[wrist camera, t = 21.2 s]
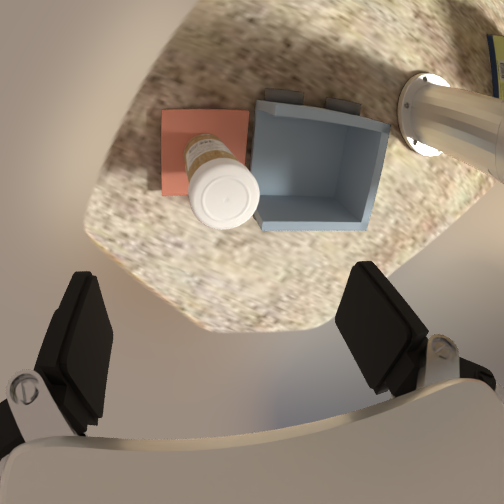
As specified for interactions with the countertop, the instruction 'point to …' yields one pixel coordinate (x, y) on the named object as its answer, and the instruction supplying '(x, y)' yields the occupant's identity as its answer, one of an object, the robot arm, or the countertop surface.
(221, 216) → the sprinkles bottle
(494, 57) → the protein box
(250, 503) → the robot arm
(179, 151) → the panel
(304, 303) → the countertop surface
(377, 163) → the box
